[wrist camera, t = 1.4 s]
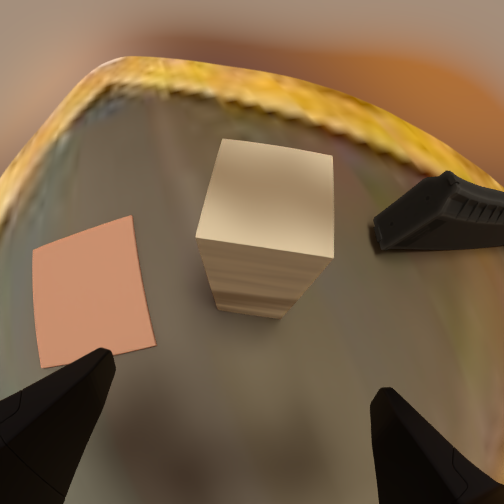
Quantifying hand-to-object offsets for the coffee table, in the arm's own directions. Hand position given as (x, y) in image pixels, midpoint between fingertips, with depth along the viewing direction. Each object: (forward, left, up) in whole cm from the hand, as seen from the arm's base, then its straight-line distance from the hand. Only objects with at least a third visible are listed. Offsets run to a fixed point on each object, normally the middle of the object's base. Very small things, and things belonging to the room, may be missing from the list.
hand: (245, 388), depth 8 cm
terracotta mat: (-5, +14, -13) cm, 20 cm away
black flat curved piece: (+28, -12, -13) cm, 33 cm away
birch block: (+6, +4, -13) cm, 15 cm away
